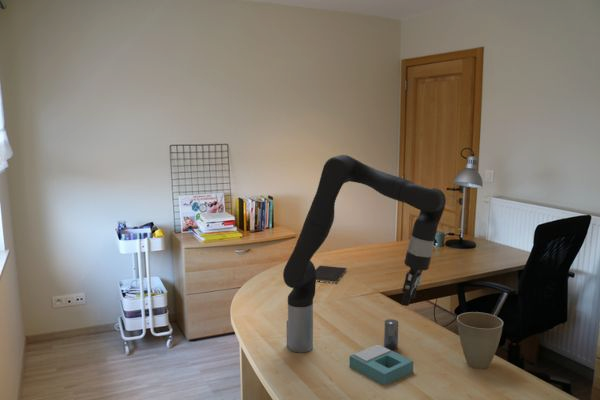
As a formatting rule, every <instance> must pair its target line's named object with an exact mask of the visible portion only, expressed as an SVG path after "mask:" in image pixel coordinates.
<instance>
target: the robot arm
mask: <svg viewBox="0 0 600 400" xmlns="http://www.w3.org/2000/svg"><path fill="white" fill-rule="evenodd" d="M319 178H320V179H319V182H318V186H317V190H316V193H315V195H314V198H313V200H312V202H311V205H310V206H309V207H310V208H309V210H308V213H307V214H306V218H305V220H304V222H303V225H302V228H301V231H300V233H299V236H298V238H297V241H296V244H295V246H294V248H293V250H292V253H291V254H290V256H289V259H288V261H287V262H286V264H285V266H284V269H283V272H282V276H283V277H282V278H283V281H284V283H285V285H286V286H287V287H289V288H291V289H292V290H290V291H291V292H290V293H289V294H288V295H287V320H286V346H287V348H288V350H289V351H291V352H294V353H308V352H309V351H311V350H313V348H314V297H315V296H316V285H317V284H316V283H317V282H316V267H315V265H314V263H313V262H312V261H311V260H312V258H313V256H314V255H315V254H316V252H317V251H318V250H319V249H320V247H322V245H323V244H324V242H325V240H326V239H327V238H328V236H329V233H330V231H331V229H332V226H333V224H334V220H335V204H336V200H337V197H338V195H339V193H340V190H341V189H342V187H343V186H344V184H346V183H349V182H353V183H357V184H362V185H364V186H367V187H370V188H371V189H373V190H374V191H376V192H378V193H379V194H380V195H382V196H384V197H387V198H389V199H392V200H395V201H397V202H401V203H404V204H407V205H409V206H411V207H413V208H415V209H417V210H418V211H420V212H419V215H418V217H417V218H416V219H415V221H414V223H413V227H412V232H411V235H410V239H409V241H408V245H407V249H406V253H405V258H404V265H405V266H406V267H409V270H408V271H406V274H405V279H404V281H403V287H402V289H401V293H402V299H401V305H403V306H405V307H408V306H409V305H410V300H411V299H412V300H414V299H415V298H416V293H417V289H418V287H419V285H420V284H421V278H422V275H423V271H428V270H429V268H430V264H431V260H432V256H433V252H434V246H435V240H436V237H437V231H438V227H439V224H440V221H441V218H442V217H443V213H444V211H445V207H446V202H447V197H446V195H445V193H444V192H443V191H442V190H441V189H439V188H435V187H434V188H429V187H425V186H421V185H419V184H415V183H414V182H413V181H411V180H408V179H405V178H402V177H399V176H396V175H393V174H391V173H387V172H385V171H381V170H378V169H376V168H374V167H371V166H370V165H367V164H365V163H363V162H361V161H360V160H359V159H358V160H357V159H356V158H353V157H352V156H350V155H347V154H341V155H336V156H333V157H330V158H328V159H327V160H326V162H325V163H324V166H323V167H322V171H321V175H320V177H319Z"/></svg>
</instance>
